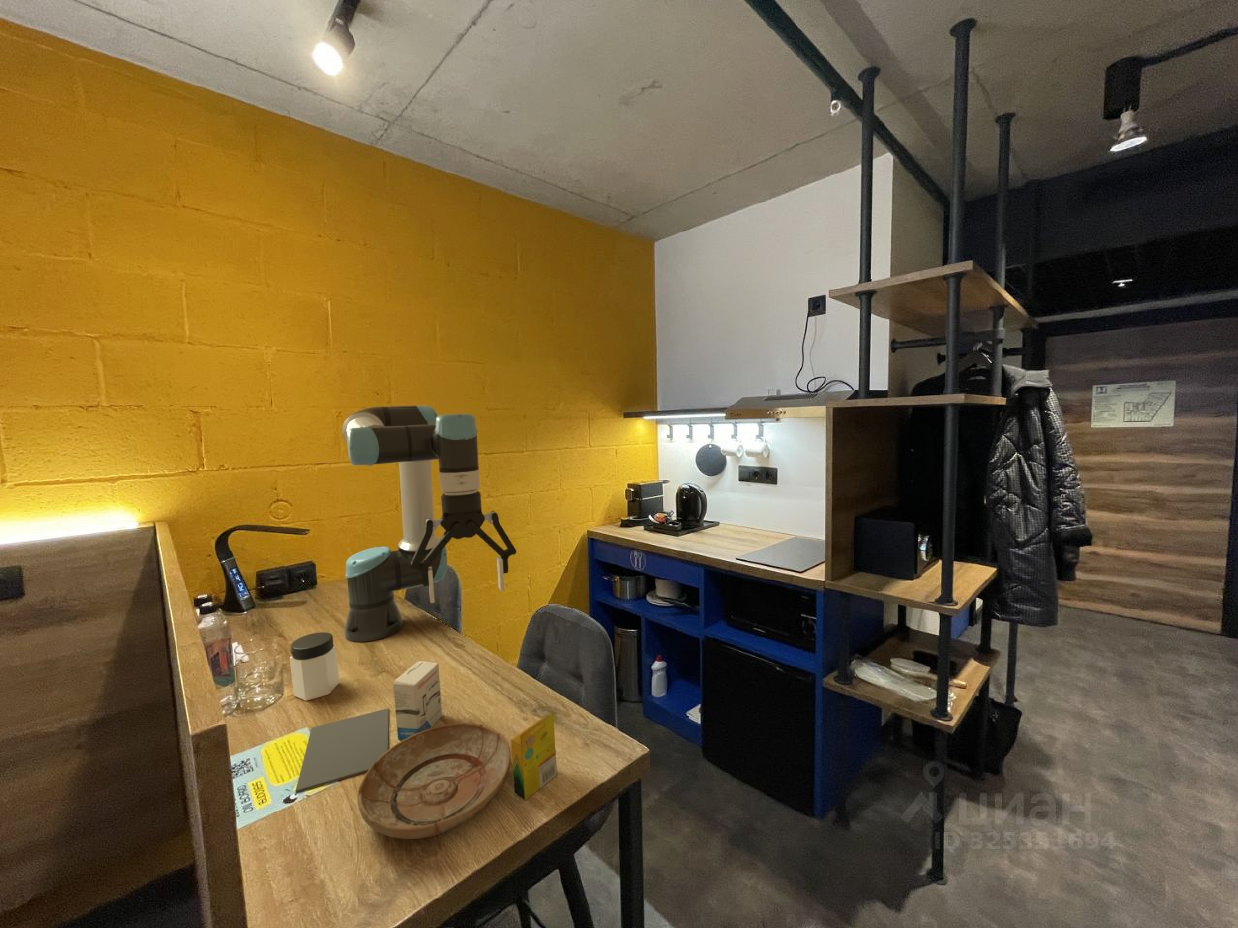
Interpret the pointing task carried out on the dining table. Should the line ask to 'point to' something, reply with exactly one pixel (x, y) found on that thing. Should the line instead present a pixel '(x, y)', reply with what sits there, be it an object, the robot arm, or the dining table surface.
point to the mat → (343, 749)
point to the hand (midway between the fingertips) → (467, 594)
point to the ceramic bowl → (434, 780)
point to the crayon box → (534, 757)
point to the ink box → (417, 699)
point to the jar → (314, 666)
